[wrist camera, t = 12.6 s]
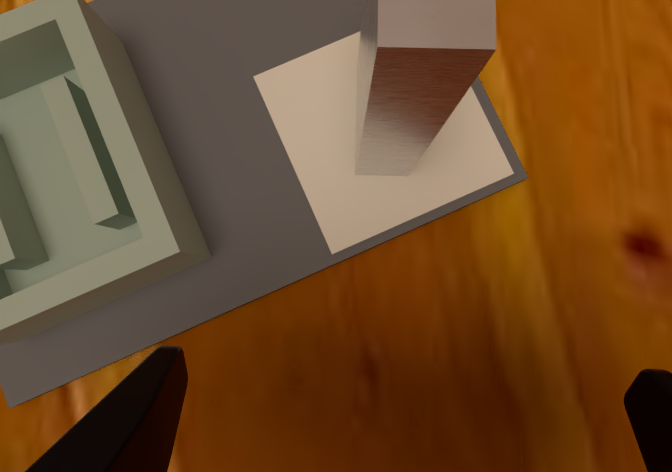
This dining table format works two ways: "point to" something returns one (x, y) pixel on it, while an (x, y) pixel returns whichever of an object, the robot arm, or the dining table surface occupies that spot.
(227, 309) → the mat
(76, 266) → the storage box
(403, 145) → the rectangular steel block
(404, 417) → the dining table surface
